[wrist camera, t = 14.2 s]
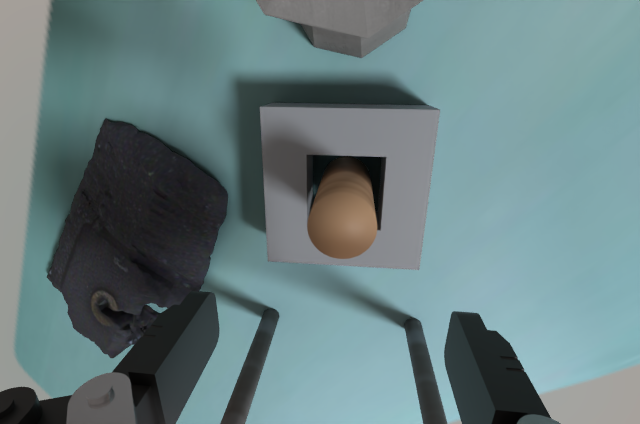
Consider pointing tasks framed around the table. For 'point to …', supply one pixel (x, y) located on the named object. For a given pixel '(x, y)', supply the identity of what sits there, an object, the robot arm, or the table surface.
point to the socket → (348, 140)
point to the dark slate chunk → (134, 236)
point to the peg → (343, 210)
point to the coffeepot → (344, 21)
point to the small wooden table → (259, 348)
